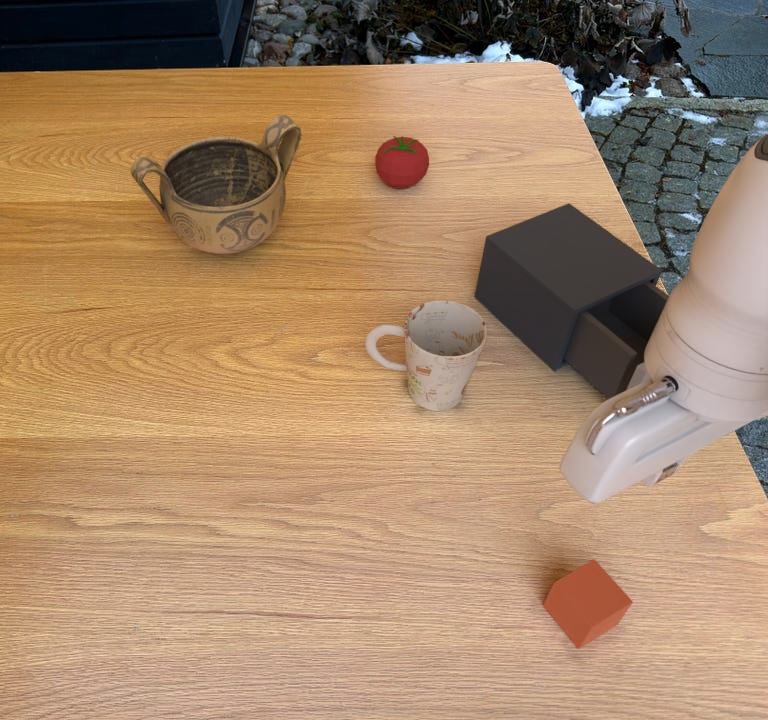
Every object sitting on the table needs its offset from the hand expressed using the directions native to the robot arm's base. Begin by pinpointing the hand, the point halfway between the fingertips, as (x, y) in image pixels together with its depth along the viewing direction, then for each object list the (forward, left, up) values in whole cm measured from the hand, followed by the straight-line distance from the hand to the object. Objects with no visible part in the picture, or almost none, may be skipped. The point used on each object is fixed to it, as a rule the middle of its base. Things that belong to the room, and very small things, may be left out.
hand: (653, 473), depth 59 cm
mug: (+23, -12, -14) cm, 30 cm away
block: (+1, +7, -14) cm, 15 cm away
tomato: (+39, -49, -14) cm, 64 cm away
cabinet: (+12, -30, -14) cm, 35 cm away
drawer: (+2, -23, -13) cm, 27 cm away
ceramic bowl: (+56, -27, -14) cm, 64 cm away
